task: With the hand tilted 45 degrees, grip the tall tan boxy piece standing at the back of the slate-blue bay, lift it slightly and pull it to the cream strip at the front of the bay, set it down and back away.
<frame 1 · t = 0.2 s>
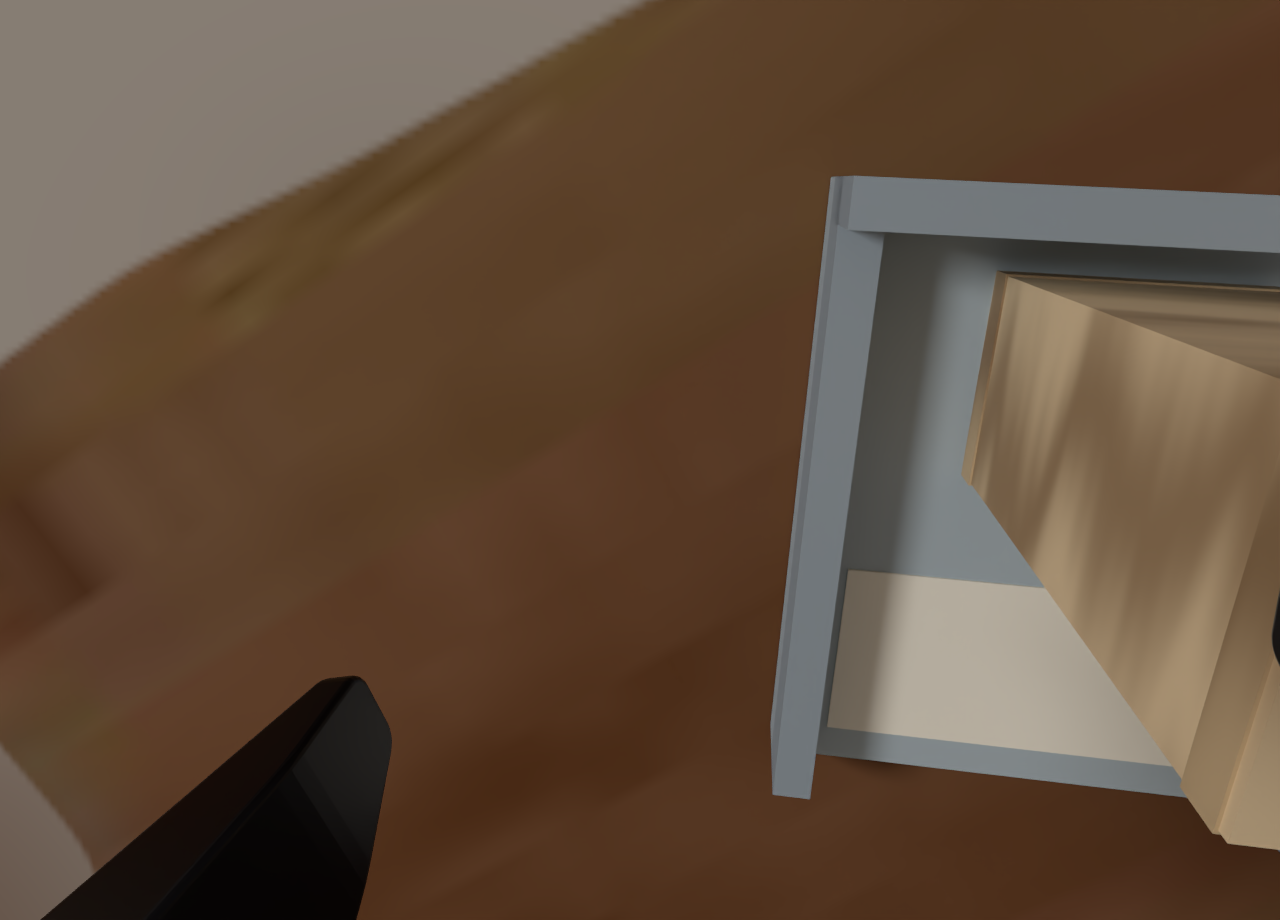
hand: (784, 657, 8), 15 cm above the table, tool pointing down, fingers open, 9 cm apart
bay: (1060, 501, 23), on the table
tan boxy piece: (1105, 383, 21), point 1 cm above the table, touching bay
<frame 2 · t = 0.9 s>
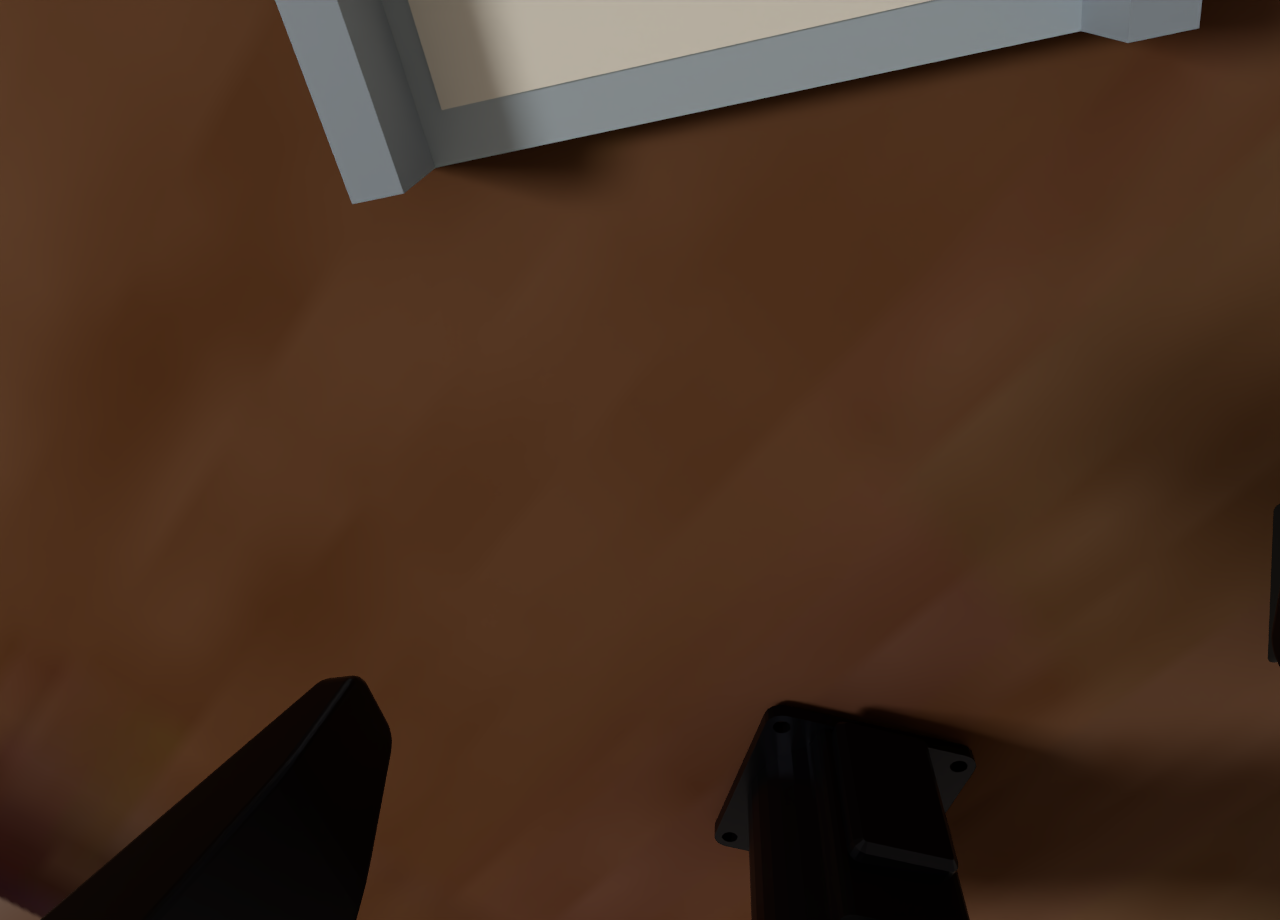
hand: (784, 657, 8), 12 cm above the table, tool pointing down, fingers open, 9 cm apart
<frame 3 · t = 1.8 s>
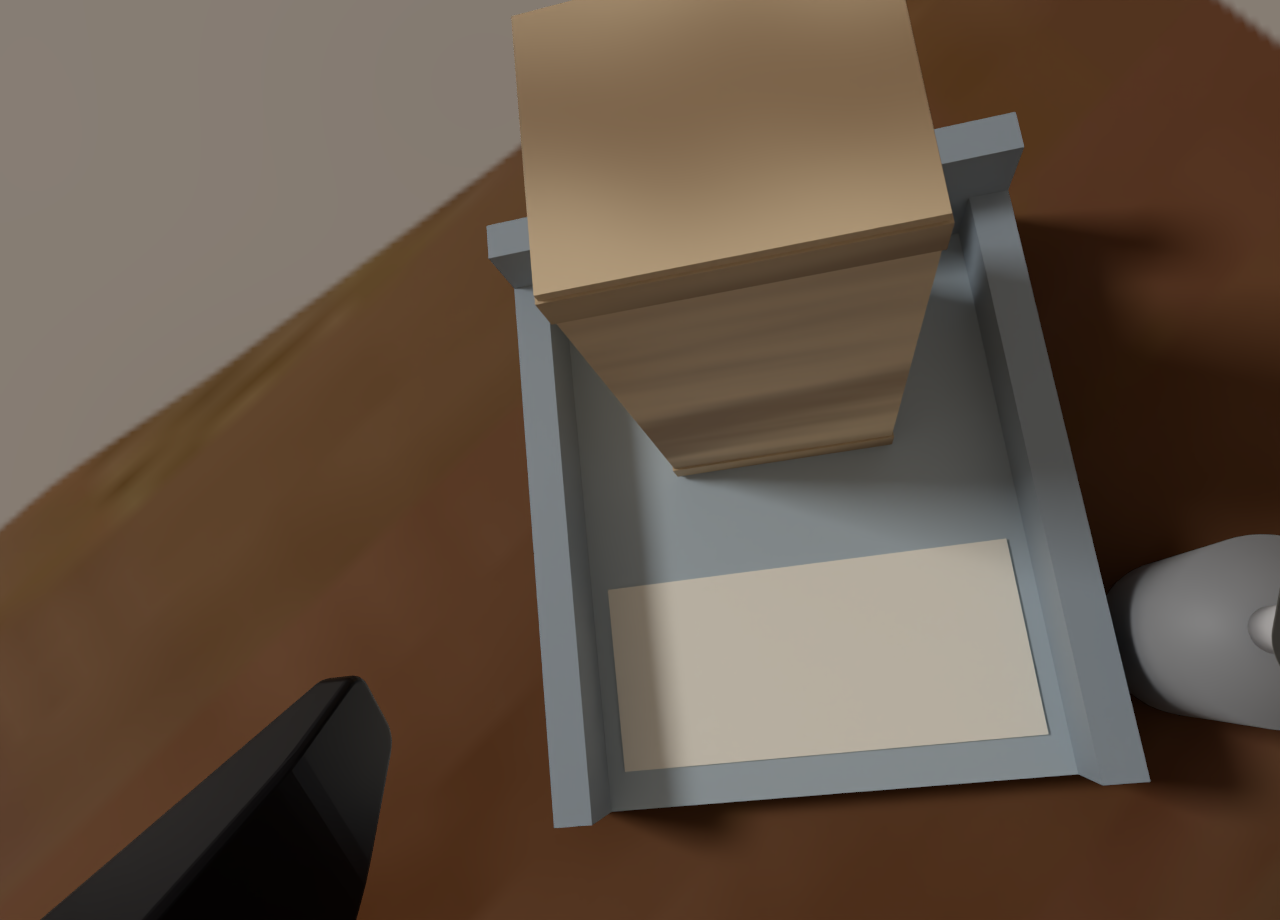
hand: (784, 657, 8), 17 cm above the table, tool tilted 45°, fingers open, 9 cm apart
bay: (790, 503, 25), on the table
tan boxy piece: (770, 379, 25), point 1 cm above the table, touching bay
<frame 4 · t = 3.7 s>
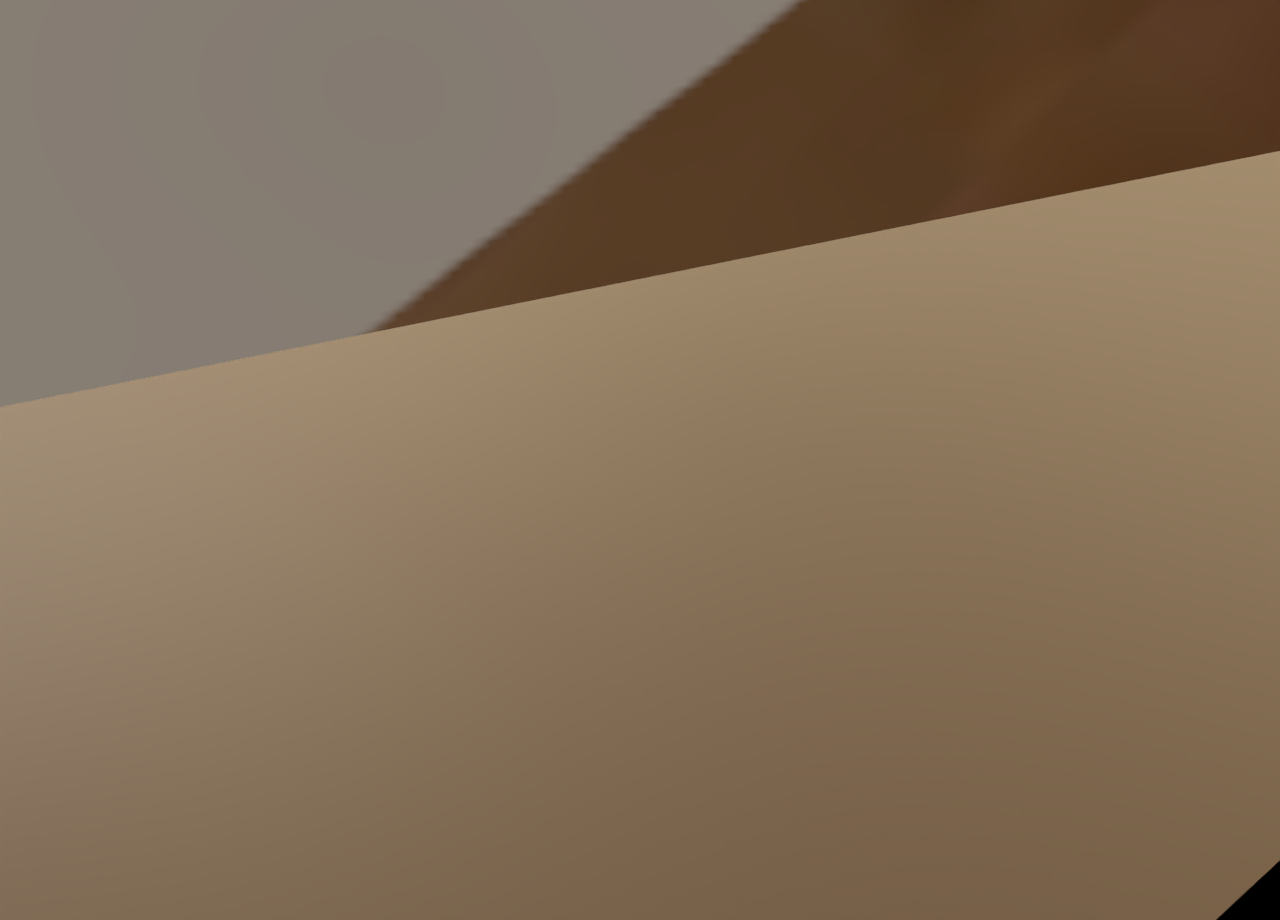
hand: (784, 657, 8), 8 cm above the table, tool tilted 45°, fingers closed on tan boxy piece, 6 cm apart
tan boxy piece: (815, 749, 14), point 1 cm above the table, touching bay, gripper
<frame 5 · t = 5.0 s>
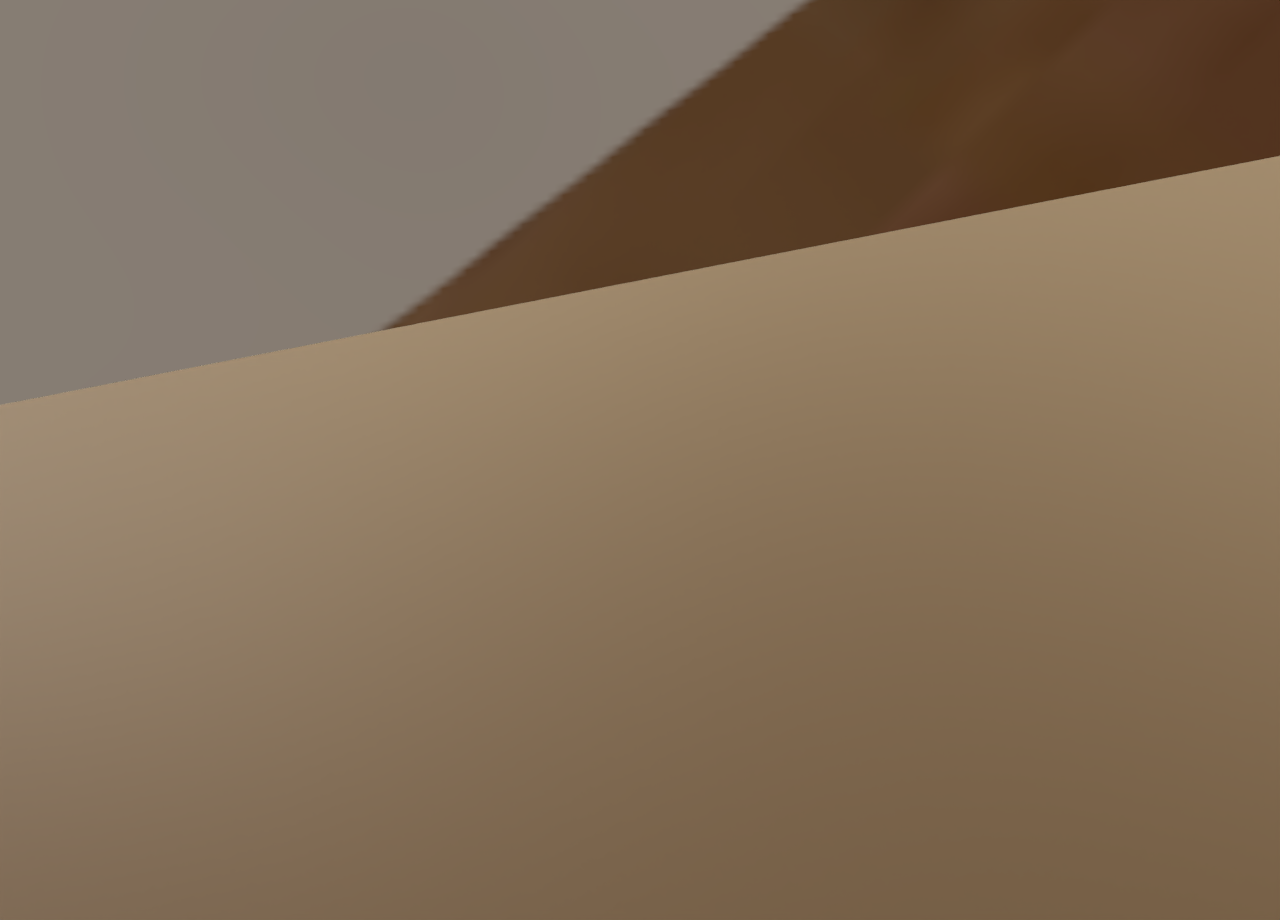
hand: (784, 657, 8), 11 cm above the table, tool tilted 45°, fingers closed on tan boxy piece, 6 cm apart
tan boxy piece: (814, 745, 14), point 4 cm above the table, touching gripper
when the fingers open (9 cm above the table, at t = 6.5 s): tan boxy piece stays where it is, resting on bay.
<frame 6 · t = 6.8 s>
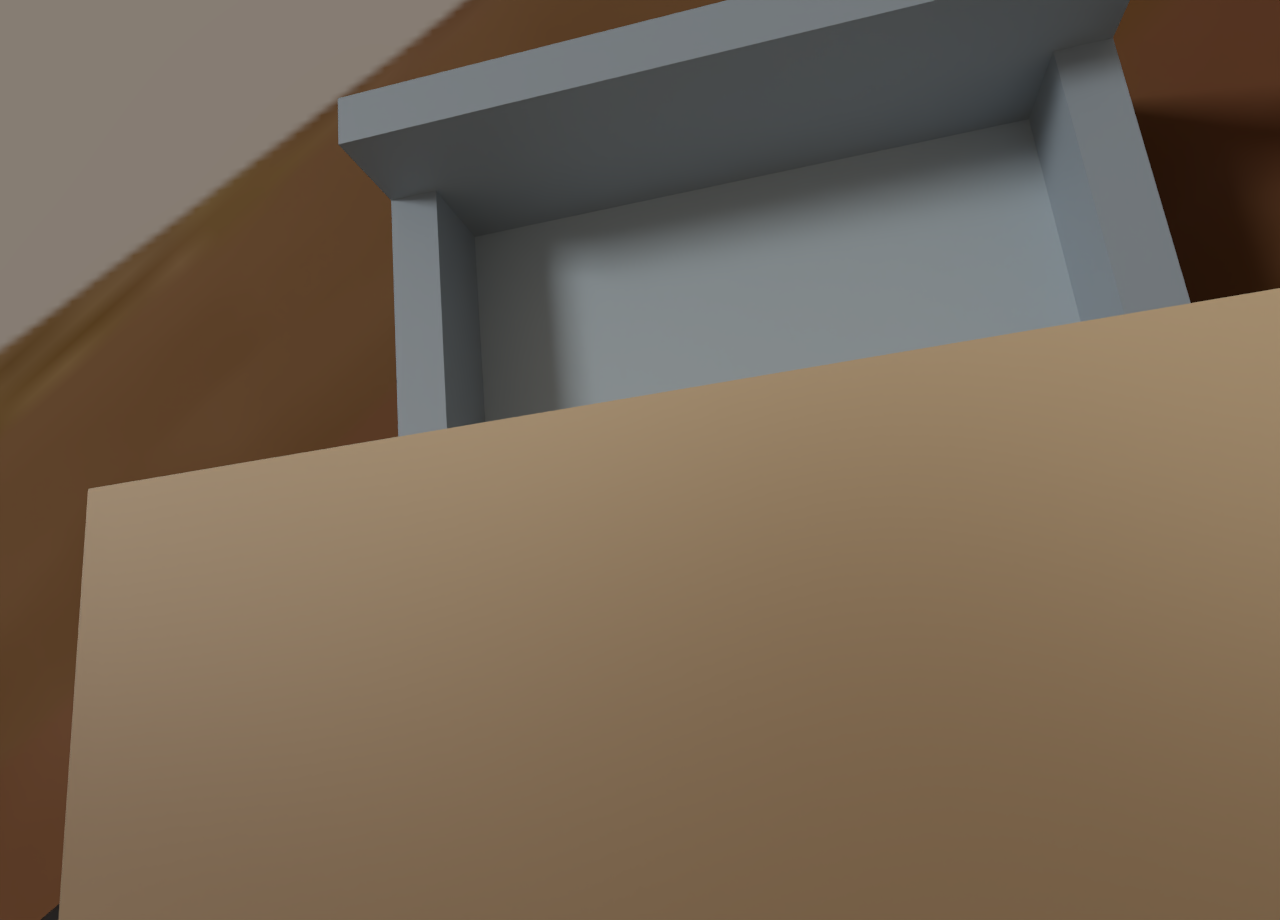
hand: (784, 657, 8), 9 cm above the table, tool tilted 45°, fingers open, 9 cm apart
bay: (785, 508, 18), on the table
tan boxy piece: (821, 744, 15), point 1 cm above the table, touching bay
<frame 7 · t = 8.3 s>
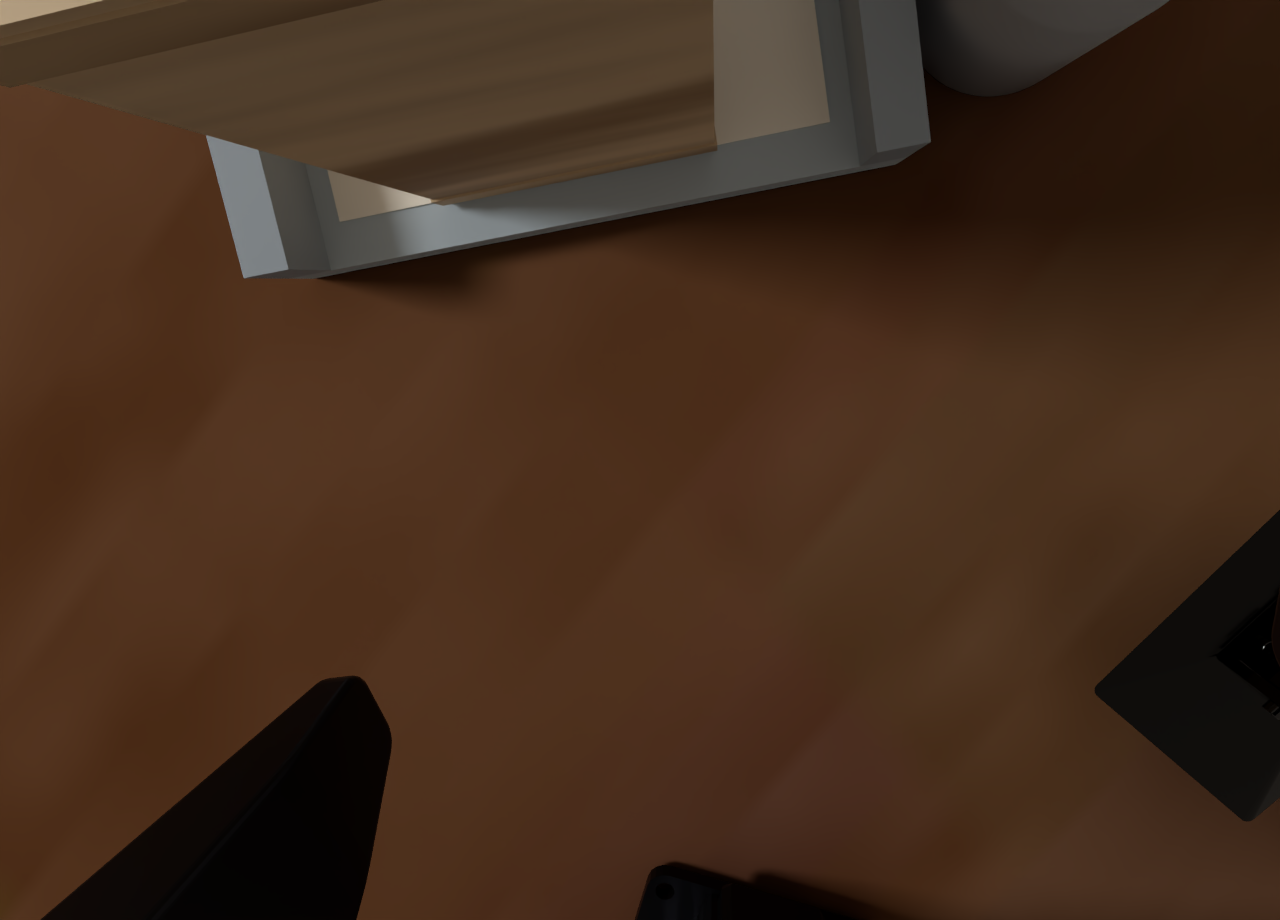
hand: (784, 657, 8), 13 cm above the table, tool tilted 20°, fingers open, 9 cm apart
tan boxy piece: (556, 56, 18), point 1 cm above the table, touching bay
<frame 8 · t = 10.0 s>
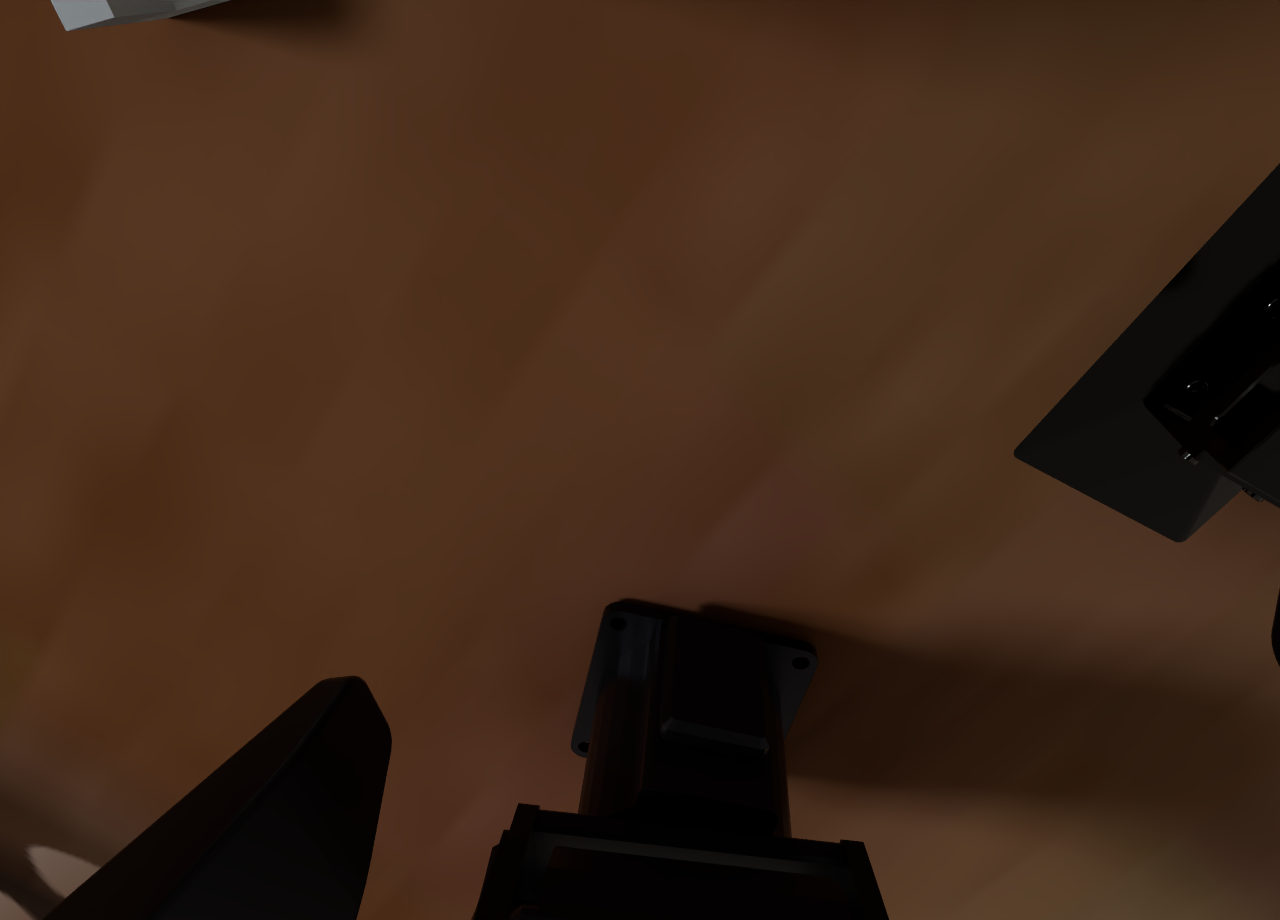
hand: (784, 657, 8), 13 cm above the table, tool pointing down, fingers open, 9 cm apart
black piece: (1231, 341, 21), on the table
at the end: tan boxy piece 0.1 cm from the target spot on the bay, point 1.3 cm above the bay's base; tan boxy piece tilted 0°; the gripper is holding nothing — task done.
